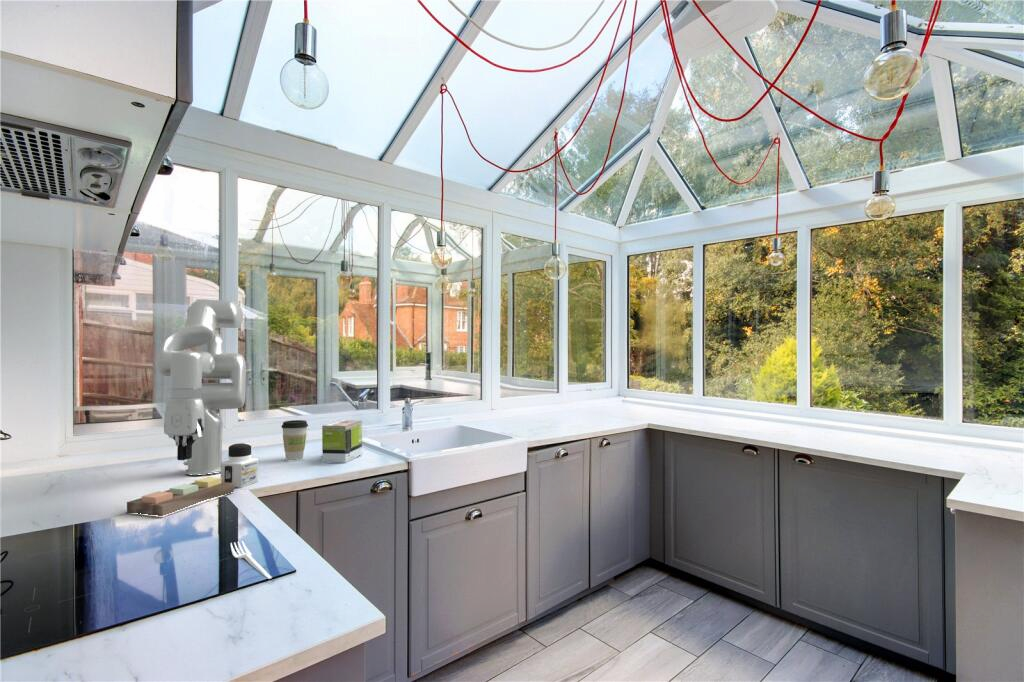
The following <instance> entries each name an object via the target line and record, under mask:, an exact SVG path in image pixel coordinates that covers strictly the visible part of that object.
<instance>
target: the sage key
mask: <svg viewBox="0 0 1024 682" xmlns="http://www.w3.org/2000/svg"><path fill="white" fill-rule="evenodd" d="M169 490H170V492H171V493H173V494H175V495H186V494H189V493H192V492H195V491H198V485H193V484H191V483H184V484H180V485H176V486H173V487H170V488H169Z"/></svg>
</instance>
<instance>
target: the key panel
mask: <svg viewBox="0 0 1024 682" xmlns="http://www.w3.org/2000/svg"><path fill="white" fill-rule="evenodd" d="M190 484H193V485H195V481H193V482H191V483H190ZM234 488H235V487H234V483H229V482H221V484H218V485H214V486H211V487H208V488H207V487H198V491H195V492H192V493H189V494H186V495H175V494H173V499H170V500H167V501H163V502H160V503H157V504H151V503H142V497H139V498H137V499H133V500H129V501H127V502H126V514H127V513H138V514H140V513H141V514H148V515H158V516H163V515H166V514H169V513H172V512H175V511H177V510H180V509H183V508H185V507H188V506H190V505H193V504H196V503H198V502H201V501H204V500H207V499H211V498H214V497H218V496H221V495H225V494H228V493H231V492H234V491H235V490H234ZM162 492H170V489H168V490H167V489H166V490H164V491H162ZM234 493H235V492H234Z"/></svg>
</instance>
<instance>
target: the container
mask: <svg viewBox="0 0 1024 682" xmlns="http://www.w3.org/2000/svg"><path fill="white" fill-rule="evenodd" d="M252 445H253V444H252ZM252 445H251V444H250V443H248V442H240V443H233V444H231V445H229V446H228V455H227V456H228V457H227V458H228V460H225V461H222V463H221V473H220V478H221V482H229V483H234V488H236V487H238V488H237V489H241V488H244V487H247V486H249V485H253V484H255V483H258V482H259V459H258V458H253V457H252Z"/></svg>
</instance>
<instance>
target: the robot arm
mask: <svg viewBox="0 0 1024 682" xmlns="http://www.w3.org/2000/svg"><path fill="white" fill-rule="evenodd" d="M186 316H187V317H186V320H185V324H184V327H183V328H181V329H179V330H177V331H175V332H174V333H172V334H170V335H169V336H167V338H165V339H164V340H163V341H162V343H161V345H160V349H159V352H158V355H157V359H156V369H157V371H158V373H159V374H160V376H161V375H162V376H164V377H170V380H169V399H168V400H167V403H166V406H165V411H164V417H163V418H164V419H163V421H164V422H163V433H164V434H165V435H167V436H168V438H169V439H172V440H174V442H175V446H177V450H176V451H177V453H176V456H177V457H176V458H177V459H176V460H178V461H184V462H183V465H184V466H187V467H188V468H186V469H185V471H184V474H185V473H186V474H192V475H198V474H208V473H214V472H221V463H222V462H223V420H222V418H221V417H220V415H219V414H218V413H217V412H216V411H217V410H232V409H240V408H242V407H243V406H244V405H245V402H246V392H247V391H246V390H247V388H246V387H247V386H246V385H247V383H246V382H247V363H246V359H245V356H243V354H242V353H234V352H233V353H230V352H229V353H225V352H224V342H225V341H224V339H223V337H222V336H221V334H220V333H219V332H218V331H217V330H216V328H217V329H218V328H222V329H237V328H238V329H239V327H241V326H242V324H243V322H244V321H243V320H244V313H243V309H242V307H241V306H240V304H238V303H237V302H235V301H233V300H232V301H231V300H226V299H225V300H224V299H223V300H222V299H199V300H196V301H195V300H194V302H192V303H191V304H190V305H189V306H188V307H187V310H186ZM192 348H195V351H194V350H189V349H192ZM202 380H231V382H203V381H202ZM186 474H185V475H186Z"/></svg>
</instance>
